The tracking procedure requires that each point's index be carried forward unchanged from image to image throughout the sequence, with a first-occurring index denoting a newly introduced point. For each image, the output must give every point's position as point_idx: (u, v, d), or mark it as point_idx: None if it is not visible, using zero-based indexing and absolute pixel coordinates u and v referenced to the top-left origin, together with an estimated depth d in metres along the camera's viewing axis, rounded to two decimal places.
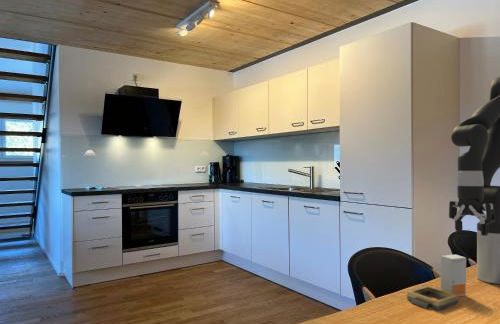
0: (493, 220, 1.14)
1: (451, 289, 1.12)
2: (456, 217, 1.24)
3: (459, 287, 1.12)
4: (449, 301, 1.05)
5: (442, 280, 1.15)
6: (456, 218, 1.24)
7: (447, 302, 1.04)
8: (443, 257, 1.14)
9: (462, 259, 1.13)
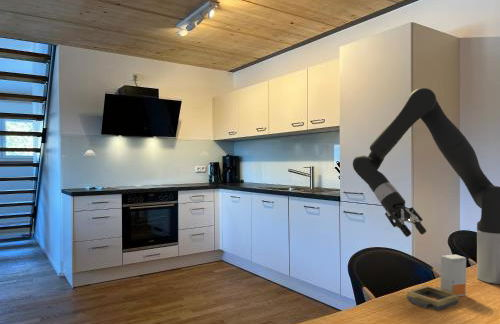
0: (395, 223, 1.24)
1: (451, 289, 1.12)
2: None
3: (459, 287, 1.12)
4: (449, 301, 1.05)
5: (442, 280, 1.15)
6: None
7: (447, 302, 1.04)
8: (443, 257, 1.14)
9: (462, 259, 1.13)
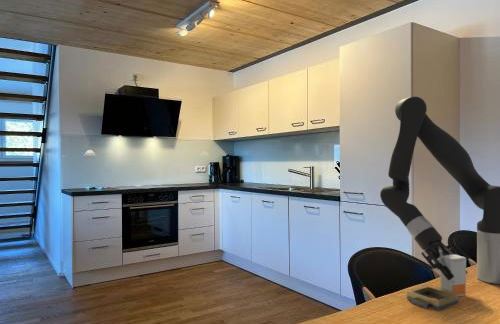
0: (435, 265, 1.12)
1: (451, 289, 1.12)
2: None
3: (459, 287, 1.12)
4: (449, 301, 1.05)
5: (442, 280, 1.15)
6: None
7: (447, 302, 1.04)
8: None
9: (462, 259, 1.13)
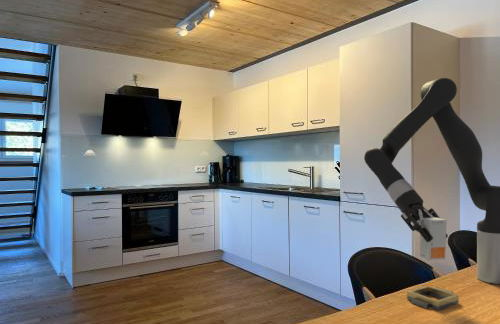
0: (414, 226, 1.08)
1: (430, 252, 1.07)
2: None
3: (438, 250, 1.08)
4: (449, 301, 1.05)
5: (421, 243, 1.10)
6: None
7: (447, 302, 1.04)
8: (423, 219, 1.10)
9: (442, 221, 1.08)
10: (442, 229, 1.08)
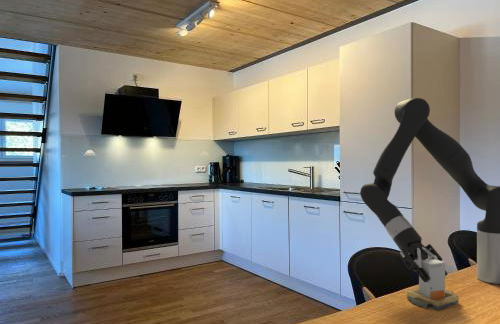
0: (411, 266, 1.07)
1: (429, 296, 1.06)
2: None
3: (437, 294, 1.07)
4: (449, 301, 1.05)
5: (420, 286, 1.09)
6: None
7: (447, 302, 1.04)
8: (421, 262, 1.09)
9: (441, 264, 1.07)
10: (441, 272, 1.07)
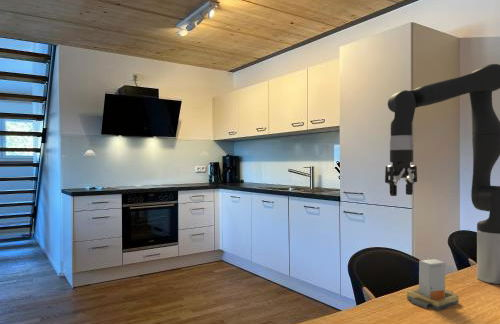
0: (388, 181, 1.23)
1: (429, 296, 1.06)
2: None
3: (437, 294, 1.07)
4: (449, 301, 1.05)
5: (420, 286, 1.09)
6: None
7: (447, 302, 1.04)
8: (421, 262, 1.09)
9: (441, 264, 1.07)
10: (441, 272, 1.07)
